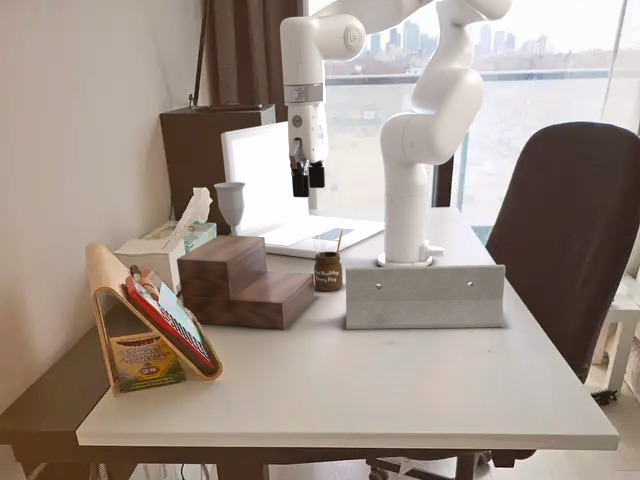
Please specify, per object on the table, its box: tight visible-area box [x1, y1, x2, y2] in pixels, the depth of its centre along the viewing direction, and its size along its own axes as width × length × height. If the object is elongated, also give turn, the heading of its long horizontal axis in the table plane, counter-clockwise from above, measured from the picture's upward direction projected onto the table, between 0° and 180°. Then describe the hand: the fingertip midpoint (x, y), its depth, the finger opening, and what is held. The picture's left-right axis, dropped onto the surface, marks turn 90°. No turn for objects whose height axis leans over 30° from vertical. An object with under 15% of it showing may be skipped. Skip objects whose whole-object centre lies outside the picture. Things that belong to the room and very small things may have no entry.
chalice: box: [213, 182, 245, 236], centre depth 154 cm, size 7×7×18 cm
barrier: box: [345, 264, 507, 330], centre depth 116 cm, size 28×7×10 cm, turn 86°
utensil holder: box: [313, 229, 343, 292], centre depth 135 cm, size 6×6×12 cm
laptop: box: [220, 120, 384, 260], centre depth 169 cm, size 34×28×28 cm
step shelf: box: [176, 234, 316, 330], centre depth 125 cm, size 20×18×12 cm
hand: (309, 192), depth 129 cm, fingers open, 9 cm apart
